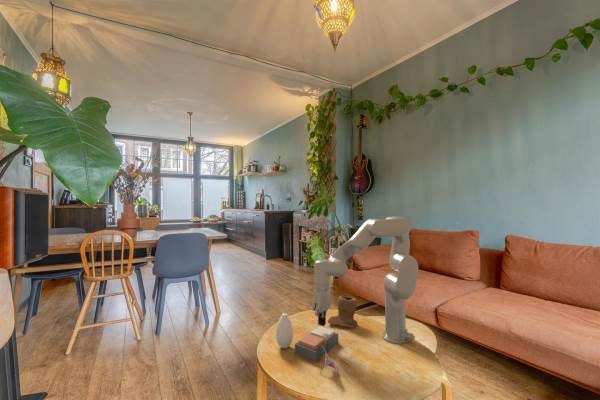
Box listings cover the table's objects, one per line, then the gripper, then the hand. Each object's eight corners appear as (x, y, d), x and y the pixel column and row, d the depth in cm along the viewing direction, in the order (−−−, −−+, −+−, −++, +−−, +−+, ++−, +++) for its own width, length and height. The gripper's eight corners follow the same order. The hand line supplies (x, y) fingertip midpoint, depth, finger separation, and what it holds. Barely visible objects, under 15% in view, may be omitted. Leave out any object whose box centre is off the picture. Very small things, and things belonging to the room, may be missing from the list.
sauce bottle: (282, 341, 134) (281, 304, 134) (296, 345, 130) (295, 307, 130) (272, 349, 127) (272, 310, 127) (287, 353, 123) (287, 313, 123)
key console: (338, 343, 132) (338, 333, 132) (315, 362, 116) (315, 352, 116) (319, 336, 138) (318, 327, 138) (294, 354, 122) (294, 344, 122)
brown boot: (359, 322, 155) (359, 295, 155) (354, 331, 144) (354, 302, 144) (333, 317, 161) (333, 291, 161) (327, 326, 150) (327, 298, 150)
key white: (334, 336, 131) (334, 330, 131) (326, 342, 125) (326, 337, 125) (319, 331, 136) (319, 326, 136) (310, 337, 130) (310, 332, 130)
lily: (335, 389, 101) (346, 364, 102) (307, 371, 104) (318, 346, 106) (337, 380, 112) (347, 357, 113) (312, 363, 115) (322, 341, 117)
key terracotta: (324, 344, 124) (324, 338, 124) (314, 352, 118) (314, 346, 118) (308, 339, 129) (308, 333, 129) (298, 346, 123) (298, 340, 123)
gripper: (323, 281, 139) (323, 317, 139) (306, 288, 127) (306, 328, 127) (336, 284, 135) (336, 321, 135) (320, 291, 123) (320, 333, 123)
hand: (321, 324), depth 131 cm, fingers closed
